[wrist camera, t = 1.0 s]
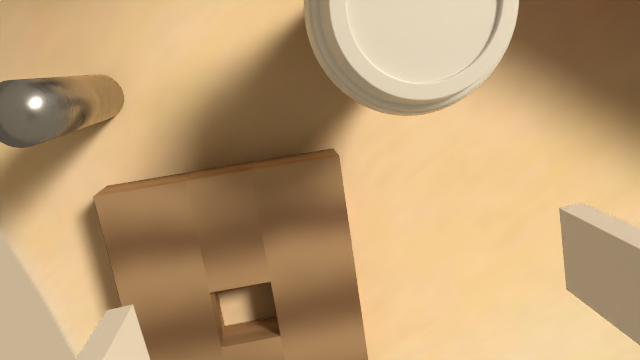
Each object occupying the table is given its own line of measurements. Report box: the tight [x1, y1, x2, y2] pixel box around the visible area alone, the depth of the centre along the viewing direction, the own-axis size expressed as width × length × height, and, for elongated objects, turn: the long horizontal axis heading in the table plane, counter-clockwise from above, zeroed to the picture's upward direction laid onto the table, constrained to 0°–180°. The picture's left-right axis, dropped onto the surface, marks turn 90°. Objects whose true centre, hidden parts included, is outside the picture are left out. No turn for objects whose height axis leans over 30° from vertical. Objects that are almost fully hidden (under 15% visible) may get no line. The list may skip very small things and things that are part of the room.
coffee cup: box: [304, 0, 519, 116], centre depth 28 cm, size 10×10×15 cm
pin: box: [0, 75, 124, 148], centre depth 29 cm, size 3×3×12 cm
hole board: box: [93, 149, 368, 360], centre depth 37 cm, size 20×16×3 cm
